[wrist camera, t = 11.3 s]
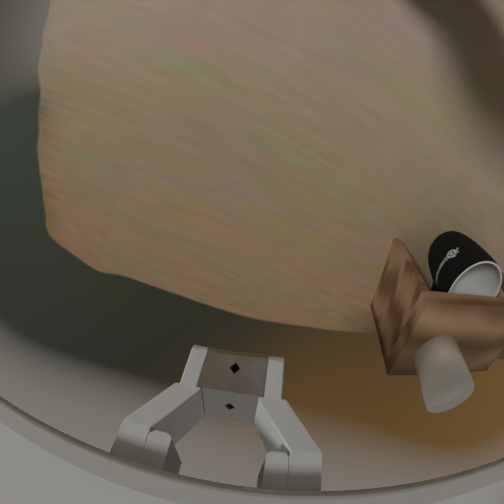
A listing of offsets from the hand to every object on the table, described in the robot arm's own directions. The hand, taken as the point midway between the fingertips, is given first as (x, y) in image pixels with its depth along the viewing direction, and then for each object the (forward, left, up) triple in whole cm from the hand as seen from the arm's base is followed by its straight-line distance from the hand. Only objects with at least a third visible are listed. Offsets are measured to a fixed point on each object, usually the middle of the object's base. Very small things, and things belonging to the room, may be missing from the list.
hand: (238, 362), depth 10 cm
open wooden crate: (+14, +26, -29) cm, 42 cm away
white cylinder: (+16, +22, -16) cm, 31 cm away
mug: (+10, +26, -29) cm, 41 cm away
